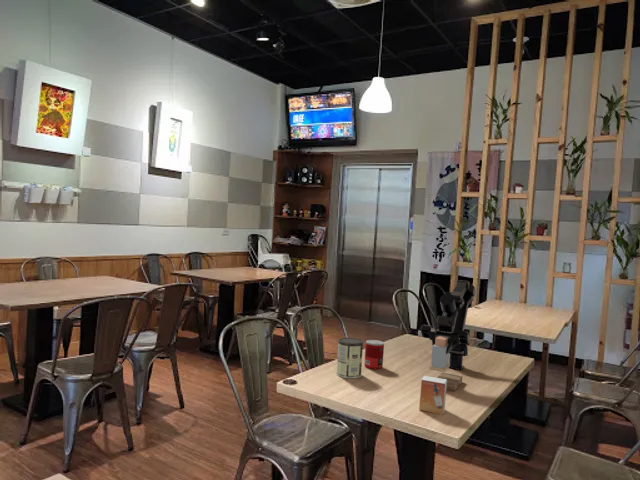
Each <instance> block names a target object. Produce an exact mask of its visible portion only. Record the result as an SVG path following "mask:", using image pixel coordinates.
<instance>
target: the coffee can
mask: <svg viewBox="0 0 640 480" xmlns="http://www.w3.org/2000/svg"><path fill="white" fill-rule="evenodd" d="M337 342H338V343H337V357H336V358H337V361H336V376H338V377H340V378H344V379H351V380H352V379H358V378H361V377H362V365H363V348H364V340H363V339H360V338H355V337H341V338H339V339H337Z"/></svg>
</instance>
